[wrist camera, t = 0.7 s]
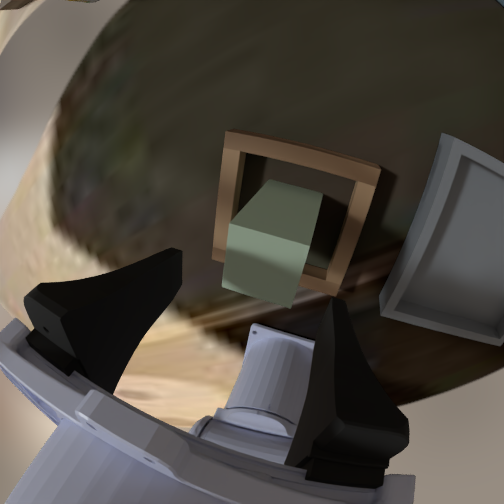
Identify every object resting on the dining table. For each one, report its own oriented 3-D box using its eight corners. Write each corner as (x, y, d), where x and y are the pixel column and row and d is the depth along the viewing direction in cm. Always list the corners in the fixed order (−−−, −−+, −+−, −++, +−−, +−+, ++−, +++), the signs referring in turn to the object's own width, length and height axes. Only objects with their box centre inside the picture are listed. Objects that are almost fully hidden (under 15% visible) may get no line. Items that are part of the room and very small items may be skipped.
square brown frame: (336, 285, 23) (335, 296, 22) (218, 250, 25) (211, 259, 24) (378, 164, 18) (381, 169, 16) (233, 128, 19) (225, 131, 18)
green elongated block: (310, 241, 22) (290, 308, 15) (260, 227, 23) (221, 286, 16) (323, 193, 20) (309, 246, 13) (269, 179, 21) (229, 223, 14)
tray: (493, 328, 20) (500, 346, 18) (379, 295, 22) (380, 315, 20) (560, 203, 12) (575, 215, 10) (441, 132, 15) (454, 137, 13)
